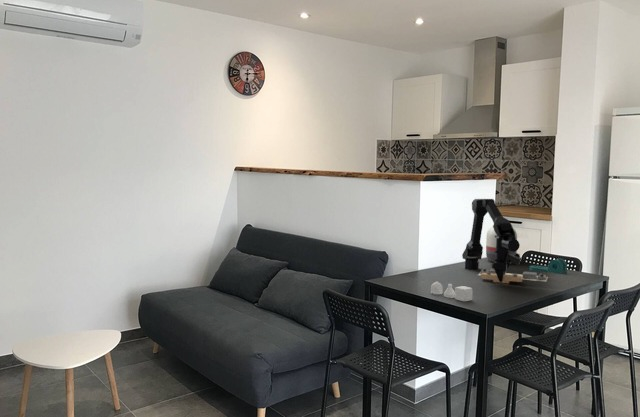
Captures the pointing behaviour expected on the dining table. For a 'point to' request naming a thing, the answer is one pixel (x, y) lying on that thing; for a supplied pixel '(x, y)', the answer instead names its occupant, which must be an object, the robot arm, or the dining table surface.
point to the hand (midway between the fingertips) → (501, 280)
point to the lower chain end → (488, 271)
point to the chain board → (524, 278)
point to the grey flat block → (533, 275)
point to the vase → (493, 244)
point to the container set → (459, 293)
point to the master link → (505, 277)
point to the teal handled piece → (552, 266)
